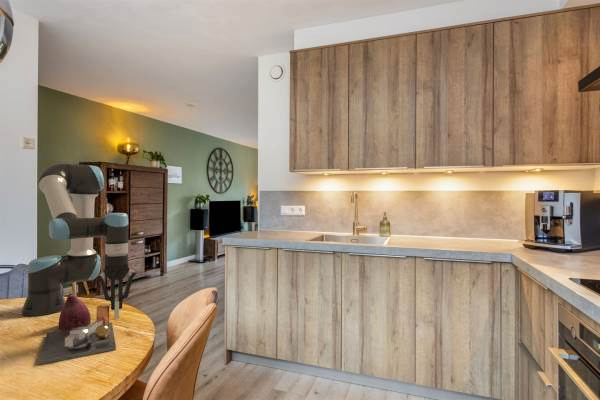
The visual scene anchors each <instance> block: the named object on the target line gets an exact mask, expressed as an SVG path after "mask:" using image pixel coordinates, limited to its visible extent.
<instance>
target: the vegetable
mask: <svg viewBox="0 0 600 400" xmlns="http://www.w3.org/2000/svg"><path fill="white" fill-rule="evenodd" d="M65 300H66V301H65V304H64V307H63V309H62V311H60V314H59V318H58V326H57V327H58V330H59V331H61V330H68V329H74V328H78V327H86V326H88V325H90V324H91V323H92V322H91V320H92V317H91V313H90V311H89V309H88V306H87V305H86V304H85V302H83V301H82V300H81V299H79V297H78V296H77V295H75V294H74V293H72V292H69V294H67V297H66V299H65Z"/></svg>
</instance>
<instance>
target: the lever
mask: <svg viewBox="0 0 600 400" xmlns="http://www.w3.org/2000/svg"><path fill="white" fill-rule="evenodd" d="M109 323H110V305H109V304H101V305H98V306H96V320H95V321H93V322H91V323H90V325H88V326H86V327H78V328H74V329H72V330H70V335H69V336H67V337H66V338H65V347H66V346H74V345H78V344H83V343H86V342H88V341H89V335H90V334H92V333H93V332H95V329H96V328H97V327H98V326H100V325H102V324H105V325H109Z"/></svg>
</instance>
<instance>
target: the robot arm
mask: <svg viewBox="0 0 600 400" xmlns="http://www.w3.org/2000/svg"><path fill="white" fill-rule="evenodd" d="M104 185H105V179H104V175H103V172H102V170H101V168H100V167H98V166H97V165H90V164H79V163H78V164H76V163H63V162H62V163H61V162H60V163H59V162H58V163H55V164H51V165H49V166H47V167H45V168H44V169H43V170H42V171H41V172H40V174H39V176H38V178H37V186H38V188H39V190H40V191H41V192H42V194H44V196H45V200H46V203H47V205H48V208H49V210H50V211H49V212H50V214H51V217H52V219H50V220H49V224H48V235H49V238H51V239H52V240H53V241H55V240H65V241H66V240H70V242H71V243H70V250H68V252H66V257H62V255H60V254H55V255H47V256H41V257H38V258H34V259H32V260H30V262H28V265H27V296H26V299H25V301H24V303H23V306H22V309H21V312H22V313H21V315H22V316H25V317H39V316H47V315H51V314H55V313H59V312H61V311H62V309H63V307H64V304H65V302H66V301H65V300H66V299H65V298H64V295H63V293H62V285H65V284H72V283H80V282H87V281H93V280H95V279H96V278H97V280H98V281H99V282H100V287H101V288H102V293H103V295H104V299H105V301H108V302H110V310H111V311H114V312H113V313H114V315H113V317H114V320H119V319H120V310H122V309H123V300H124V299H127V298H129V294H130V291H131V290H130V289H131V287H132V283H133V278H135V276H136V274H137V273H136V271H135V270H132V269H130V266H129V255H128V253H129V216H128V214H127V213H125V212H109V213H106V214H105V216H101V217H95V199H96V198H97V197H98V196H99V194H100V193H99V192H101V191H103V189H104V187H105V186H104ZM67 190H68V191H67ZM71 197H72V199H71ZM94 238H104V241H105V242H104V254H105V255H106V256H105V257H104V263H105V264H104V269H103V270H102V271H103V272H101V273H100V271H101V266H102V265H101V263H102V261H101V256H100V255H99V254H97V251H96V250H95V249H94ZM127 275H128V278H127V282H126V286H125V289H124V290H123V286H124V285H123V281H124V280H123V279H124V278H126V276H127ZM105 277H107V278H108V279H109V280H110V296H109V292H108V290H107V285H106V283H105ZM116 281H118V290H117V291H118V292H117V293H118V296H117V297H118V298H117V299H116ZM123 291H124V293H123Z"/></svg>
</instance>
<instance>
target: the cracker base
mask: <svg viewBox="0 0 600 400" xmlns="http://www.w3.org/2000/svg"><path fill="white" fill-rule="evenodd" d="M70 330H72V329H68V330H57V331H49V332H46V336H45V338H44V342H43V345H42V348H41V351H40V354H39V357H38V361H37V365H38V366H40V365H41V366H42V365H46V364H51V363H55V362H62V361H65V360H70V359H72V360H73V359H77V358H82V357H85V356H87V357H88V356H92V355H96V354H102V353H108V352H111V351H116V350H117V344H116V339H115V334H114V328H113V322H109V325H105V324H102V325H100V326H98V327H97V328H96V329H95V332H93V333H92V334H90V335H89V341H88V342H86V343H83V344H78V345H74V346H66V347H65V338H66V337H67V336H69V335H70Z"/></svg>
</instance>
